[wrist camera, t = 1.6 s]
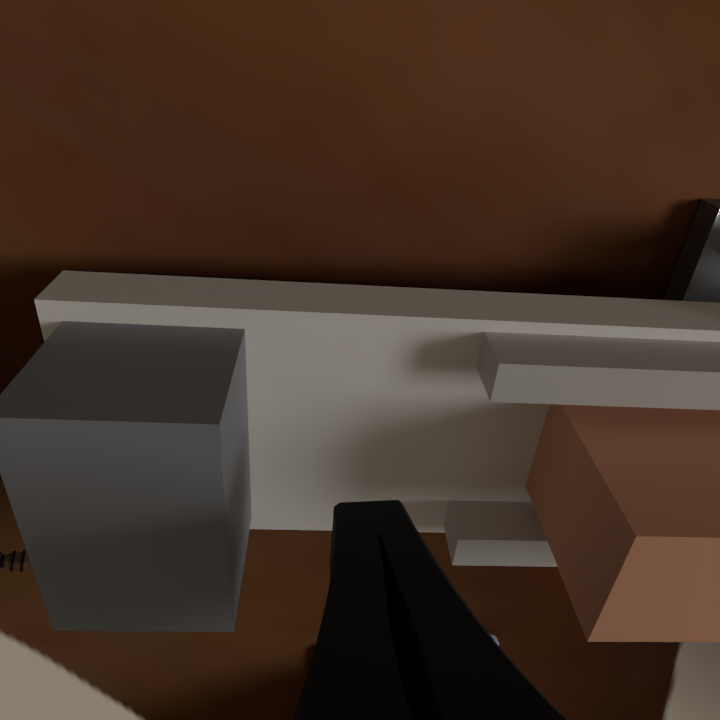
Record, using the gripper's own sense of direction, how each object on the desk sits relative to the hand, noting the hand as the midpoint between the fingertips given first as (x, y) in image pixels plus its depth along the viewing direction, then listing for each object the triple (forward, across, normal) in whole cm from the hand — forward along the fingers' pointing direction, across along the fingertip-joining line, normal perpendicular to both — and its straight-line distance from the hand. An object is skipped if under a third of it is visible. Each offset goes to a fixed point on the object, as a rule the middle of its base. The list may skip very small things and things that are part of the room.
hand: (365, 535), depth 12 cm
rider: (+3, -8, 0) cm, 8 cm away
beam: (+4, -10, 0) cm, 10 cm away
